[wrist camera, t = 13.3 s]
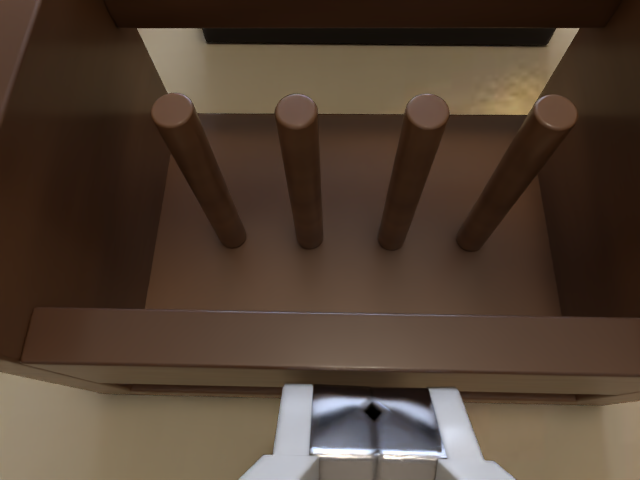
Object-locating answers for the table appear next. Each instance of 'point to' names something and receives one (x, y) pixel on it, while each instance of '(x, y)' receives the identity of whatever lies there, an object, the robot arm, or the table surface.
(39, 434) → the table surface
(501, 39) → the backstop
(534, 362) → the rack
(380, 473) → the robot arm
